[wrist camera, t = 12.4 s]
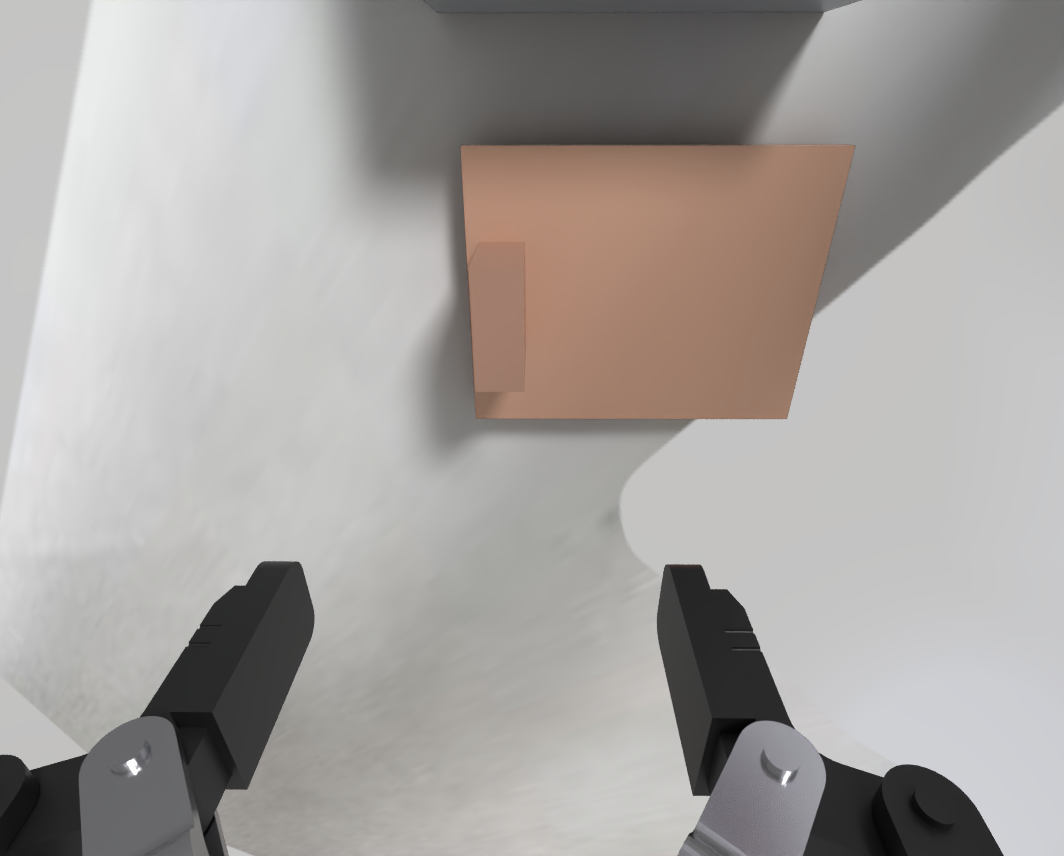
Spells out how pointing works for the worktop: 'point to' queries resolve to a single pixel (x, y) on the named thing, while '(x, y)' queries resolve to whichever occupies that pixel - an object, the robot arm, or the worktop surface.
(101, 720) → the worktop surface
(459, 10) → the tub
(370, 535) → the worktop surface
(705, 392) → the lid
